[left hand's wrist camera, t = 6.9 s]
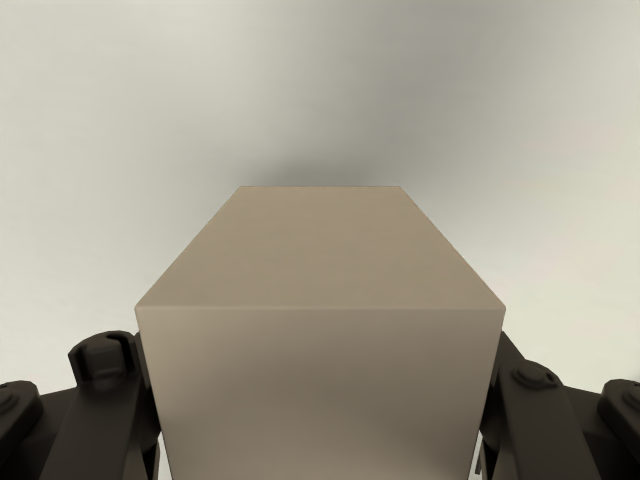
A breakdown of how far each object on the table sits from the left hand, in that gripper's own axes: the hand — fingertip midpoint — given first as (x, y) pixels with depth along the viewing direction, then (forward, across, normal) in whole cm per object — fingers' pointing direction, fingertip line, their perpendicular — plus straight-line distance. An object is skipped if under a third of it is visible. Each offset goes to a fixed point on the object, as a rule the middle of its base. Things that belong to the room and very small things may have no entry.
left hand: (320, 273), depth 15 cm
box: (+1, 0, -7) cm, 7 cm away
